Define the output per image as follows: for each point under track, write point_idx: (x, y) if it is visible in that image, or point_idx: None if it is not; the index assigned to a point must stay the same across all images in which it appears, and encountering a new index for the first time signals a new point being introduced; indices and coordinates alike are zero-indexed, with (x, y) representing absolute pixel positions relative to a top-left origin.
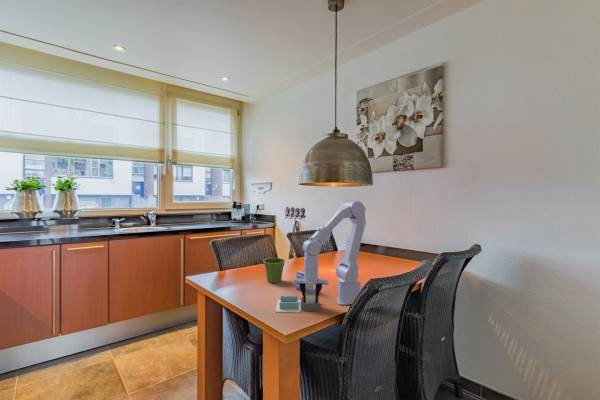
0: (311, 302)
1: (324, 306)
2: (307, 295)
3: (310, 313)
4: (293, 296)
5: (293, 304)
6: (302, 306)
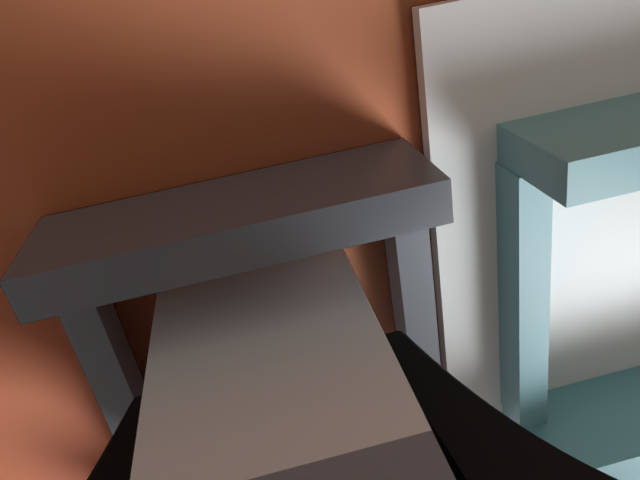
0: (240, 339)
1: (13, 417)
2: (377, 434)
3: (196, 9)
4: (627, 466)
5: (633, 134)
6: (415, 164)
